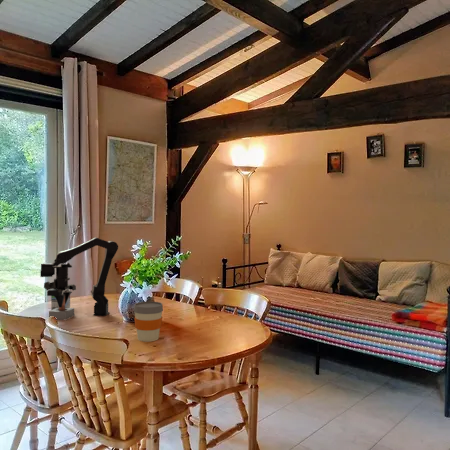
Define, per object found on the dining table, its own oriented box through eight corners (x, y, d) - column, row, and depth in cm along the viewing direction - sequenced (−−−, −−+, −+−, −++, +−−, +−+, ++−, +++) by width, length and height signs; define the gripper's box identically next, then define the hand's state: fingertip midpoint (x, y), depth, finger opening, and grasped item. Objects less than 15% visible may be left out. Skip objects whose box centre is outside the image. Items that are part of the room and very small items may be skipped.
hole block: (74, 315, 227) (74, 308, 227) (65, 320, 218) (65, 312, 218) (58, 314, 228) (58, 307, 228) (48, 319, 219) (48, 311, 219)
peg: (66, 313, 224) (66, 294, 224) (63, 315, 221) (63, 295, 221) (60, 313, 225) (60, 294, 224) (57, 315, 222) (57, 295, 221)
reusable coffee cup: (128, 337, 191) (128, 303, 191) (154, 332, 199) (154, 300, 198) (141, 344, 181) (142, 308, 181) (167, 339, 189) (168, 305, 188)
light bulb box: (63, 312, 233) (63, 292, 232) (50, 312, 233) (50, 292, 232) (70, 308, 243) (70, 289, 243) (58, 308, 243) (58, 288, 243)
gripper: (56, 273, 233) (56, 302, 233) (37, 278, 214) (36, 310, 215) (76, 273, 231) (76, 303, 232) (58, 279, 213) (58, 311, 213)
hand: (61, 306), depth 223 cm, fingers closed on peg, 3 cm apart
